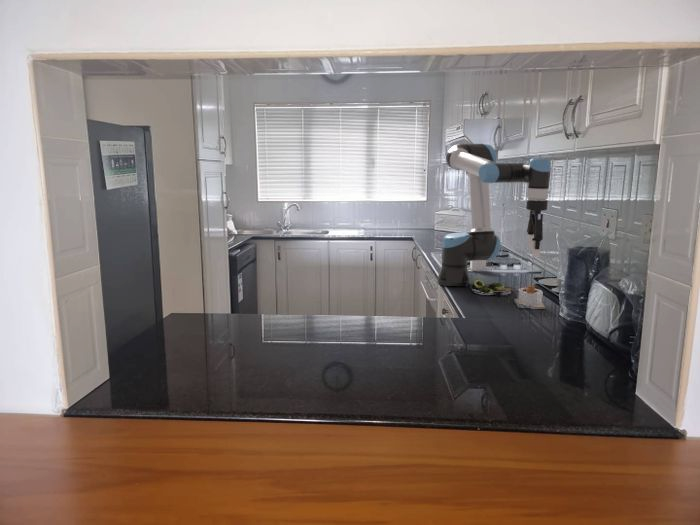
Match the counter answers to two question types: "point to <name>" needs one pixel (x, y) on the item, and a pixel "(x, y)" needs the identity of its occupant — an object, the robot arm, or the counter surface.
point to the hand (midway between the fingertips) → (532, 254)
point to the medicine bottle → (478, 265)
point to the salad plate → (489, 287)
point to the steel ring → (529, 297)
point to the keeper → (531, 289)
